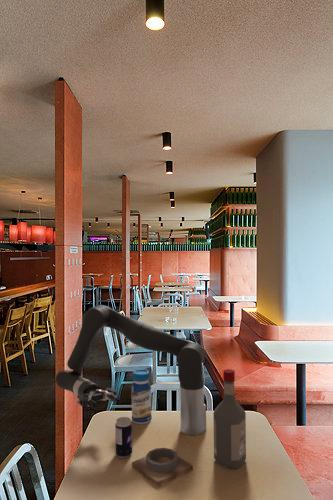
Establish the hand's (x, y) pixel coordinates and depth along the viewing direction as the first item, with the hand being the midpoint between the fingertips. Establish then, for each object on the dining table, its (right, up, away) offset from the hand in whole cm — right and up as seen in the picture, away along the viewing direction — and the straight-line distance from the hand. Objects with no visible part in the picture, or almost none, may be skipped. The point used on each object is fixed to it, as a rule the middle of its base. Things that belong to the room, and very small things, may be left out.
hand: (106, 403), depth 144 cm
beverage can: (+7, -15, -9) cm, 19 cm away
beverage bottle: (+12, -14, +18) cm, 26 cm away
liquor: (+43, -14, -13) cm, 47 cm away
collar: (+21, -13, -17) cm, 30 cm away
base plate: (+21, -14, -17) cm, 30 cm away
